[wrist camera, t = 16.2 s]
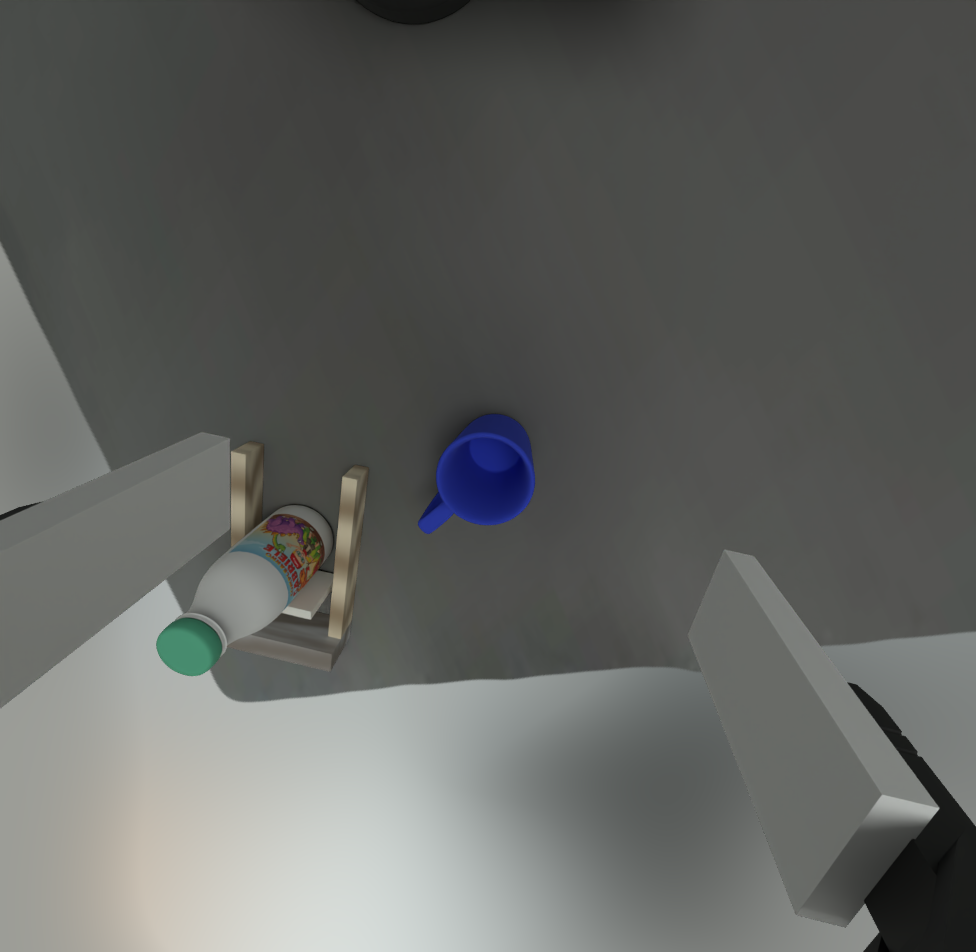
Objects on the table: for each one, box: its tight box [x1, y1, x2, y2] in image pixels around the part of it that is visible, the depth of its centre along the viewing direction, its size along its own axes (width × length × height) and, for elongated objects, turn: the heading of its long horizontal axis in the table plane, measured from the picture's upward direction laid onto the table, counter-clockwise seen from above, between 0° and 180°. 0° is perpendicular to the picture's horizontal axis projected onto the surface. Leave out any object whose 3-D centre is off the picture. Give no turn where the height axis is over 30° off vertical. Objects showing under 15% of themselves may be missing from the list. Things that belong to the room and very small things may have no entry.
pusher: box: [282, 570, 334, 620], centre depth 56 cm, size 4×9×7 cm, turn 79°
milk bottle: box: [156, 505, 333, 676], centre depth 48 cm, size 8×8×20 cm
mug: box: [418, 414, 535, 534], centre depth 47 cm, size 8×12×10 cm
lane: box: [227, 441, 369, 672], centre depth 55 cm, size 22×13×6 cm, turn 169°
